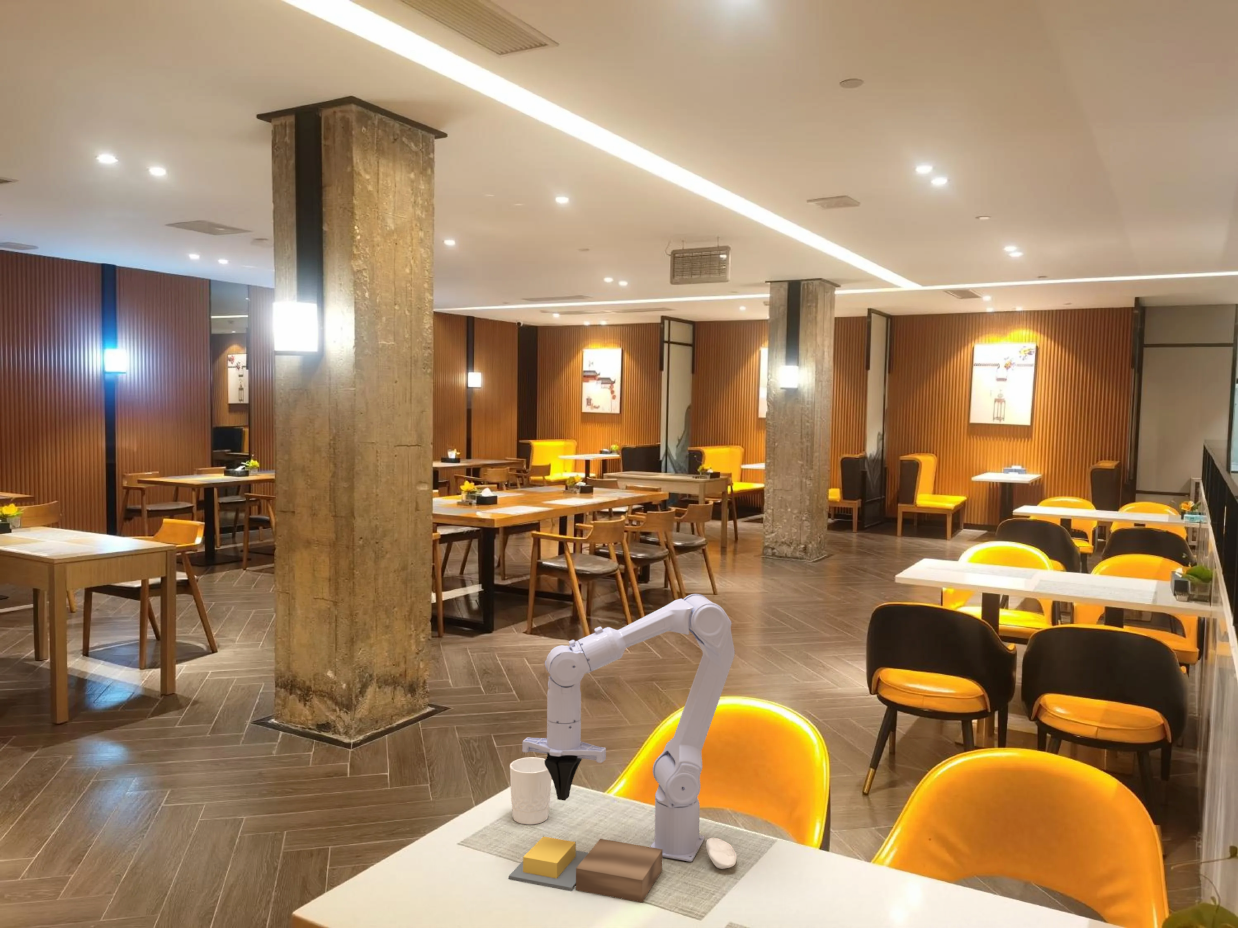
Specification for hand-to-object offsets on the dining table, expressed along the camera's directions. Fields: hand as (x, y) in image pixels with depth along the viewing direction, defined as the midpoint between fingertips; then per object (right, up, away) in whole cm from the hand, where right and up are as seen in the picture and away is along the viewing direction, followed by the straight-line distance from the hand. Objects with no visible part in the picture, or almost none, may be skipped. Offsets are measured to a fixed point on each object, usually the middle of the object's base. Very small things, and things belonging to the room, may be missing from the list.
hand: (563, 797), depth 151 cm
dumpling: (+27, -11, -1) cm, 29 cm away
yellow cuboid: (-2, -9, -3) cm, 9 cm away
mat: (-1, -11, -3) cm, 11 cm away
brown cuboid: (+10, -11, -7) cm, 16 cm away
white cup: (-7, -10, +17) cm, 21 cm away
